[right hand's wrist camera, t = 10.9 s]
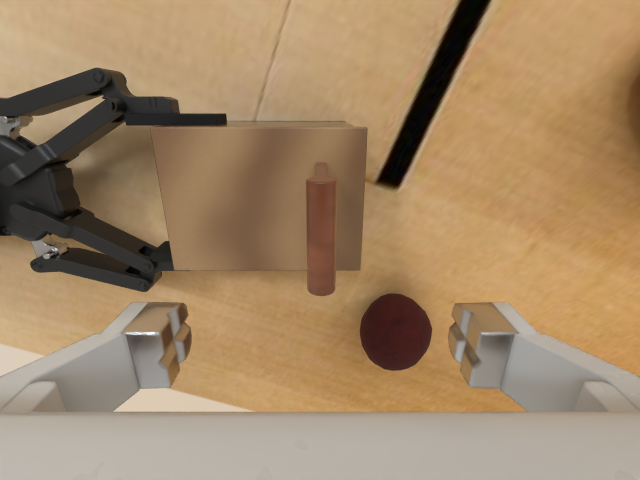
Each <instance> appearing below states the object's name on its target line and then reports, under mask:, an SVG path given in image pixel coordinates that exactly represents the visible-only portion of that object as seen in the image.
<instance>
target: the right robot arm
mask: <svg viewBox="0 0 640 480" xmlns="http://www.w3.org/2000/svg"><path fill="white" fill-rule="evenodd" d="M187 317H188V311H187V306H186V305H185V304H184V303H166V302H151V303H150V302H134V303H130V305H129V306H128V307H127V308H126V309H125V310H124V311H123V312H122V313H121V314H120V315H119V316H118V317H117V318H116V319H115V320H114V321H113V322H112V323H111V324H110V325H109V326H108V327H107V328H106V329H105V330H104V331H103V332H102V333H101V334H94V335H91V336H89V337H87V338H85V339H83V340H80V341H78V342H76V343H74V344H71V345H69V346H67V347H65V348H63V349H60V350H58V351H56V352H54V353H52V354H49V355H47V356H45V357H43V358H40V359H38V360H36V361H34V362H32V363H29V364H27V365H25V366H23V367H21V368H18V369H16V370H14V371H12V372H9V373H7V374H5V375H3V376H1V377H0V480H640V377H639V376H637V375H635V374H633V373H630V372H628V371H626V370H624V369H621V368H619V367H617V366H615V365H613V364H610V363H608V362H606V361H604V360H602V359H599V358H597V357H595V356H593V355H591V354H588V353H586V352H584V351H582V350H580V349H577V348H575V347H573V346H571V345H568V344H566V343H564V342H562V341H560V340H557V339H555V338H553V337H551V336H549V335H546V334H539V333H538V332H537V331H536V330H535V329H534V328H533V327H532V326H531V325H530V324H529V323H528V322H527V321H526V320H525V319H524V318H523V317H522V316H521V315H520V314H519V313H518V312H517V311H516V310H515V308H514V307H513V306H512V305H511V304H510V303H507V302H489V303H455V305H454V307H453V310H452V317H453V318H454V320H455V323H454V324H453V325H452V326H451V327H450V328H449V336H448V340H449V348H450V351H451V354H452V356H453V358H454V359H455V360H456V361H458V362H459V363H461V368H460V371H461V373H462V375H463V377H464V378H465V380H466V382H467V384H468V386H469V388H494V389H501V391H502V392H504V393H505V394H506V395H507V396H509V397H510V398H511V399H512V400H514V401H515V402H516V403H517V404H519V405H520V406H521V407H522V408H524V409H525V410H526V411H527V412H113V411H114V410H115V409H116V408H118V407H119V406H120V405H121V404H123V403H124V402H125V401H127V400H128V399H129V398H130V397H132V396H133V395H134V394H135V393H137V392H138V391H139V389H146V388H171V386H172V384H173V382H174V380H175V378H176V377H177V375H178V373H179V371H180V368H179V363H181V362H182V361H184V360H185V359H186V358H187V356H188V354H189V351H190V347H191V339H192V335H191V328H190V327H189V326H188V325H187V324H186V323H185V320H186V318H187Z"/></svg>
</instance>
